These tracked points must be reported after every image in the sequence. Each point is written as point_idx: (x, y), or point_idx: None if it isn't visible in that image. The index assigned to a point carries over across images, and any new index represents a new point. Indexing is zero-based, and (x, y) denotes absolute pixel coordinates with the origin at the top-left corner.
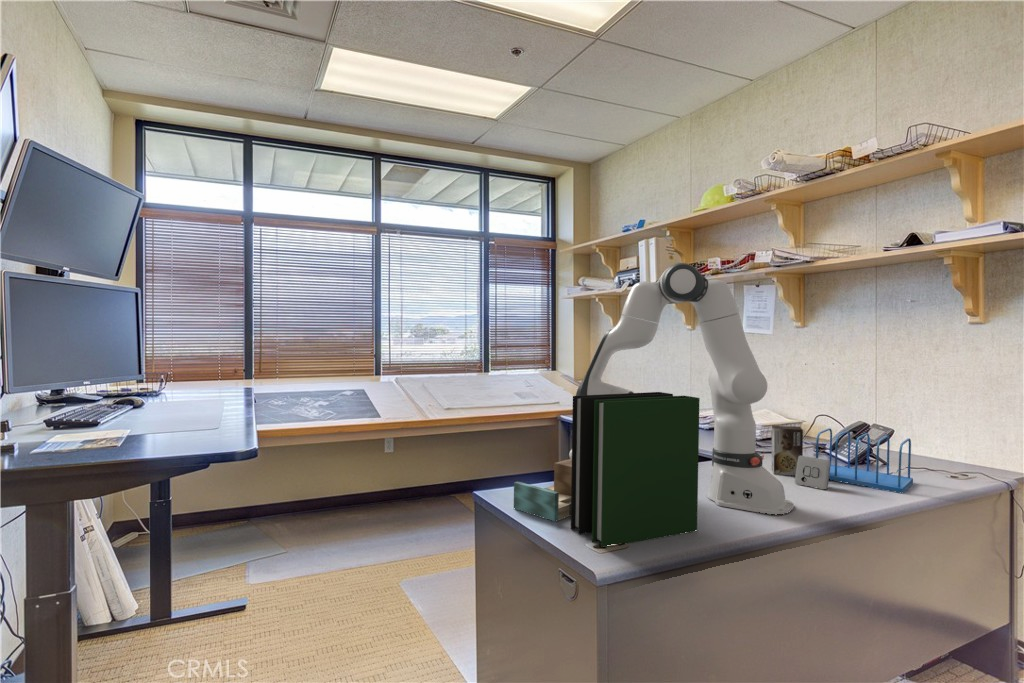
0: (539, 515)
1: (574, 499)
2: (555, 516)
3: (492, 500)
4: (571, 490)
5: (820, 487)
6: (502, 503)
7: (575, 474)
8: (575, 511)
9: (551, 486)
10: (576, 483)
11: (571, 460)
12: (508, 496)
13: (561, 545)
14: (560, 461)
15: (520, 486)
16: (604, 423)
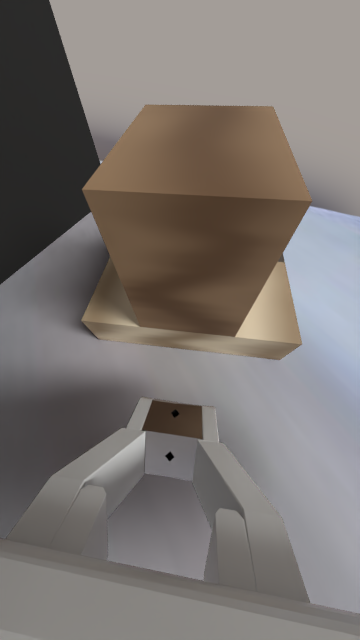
0: None
1: (80, 125)
2: None
3: (336, 217)
4: (76, 90)
5: None
6: (303, 216)
7: (41, 15)
8: (90, 161)
9: (287, 287)
10: (54, 62)
11: (248, 161)
12: (347, 250)
13: (100, 163)
14: (279, 126)
15: None
16: None
